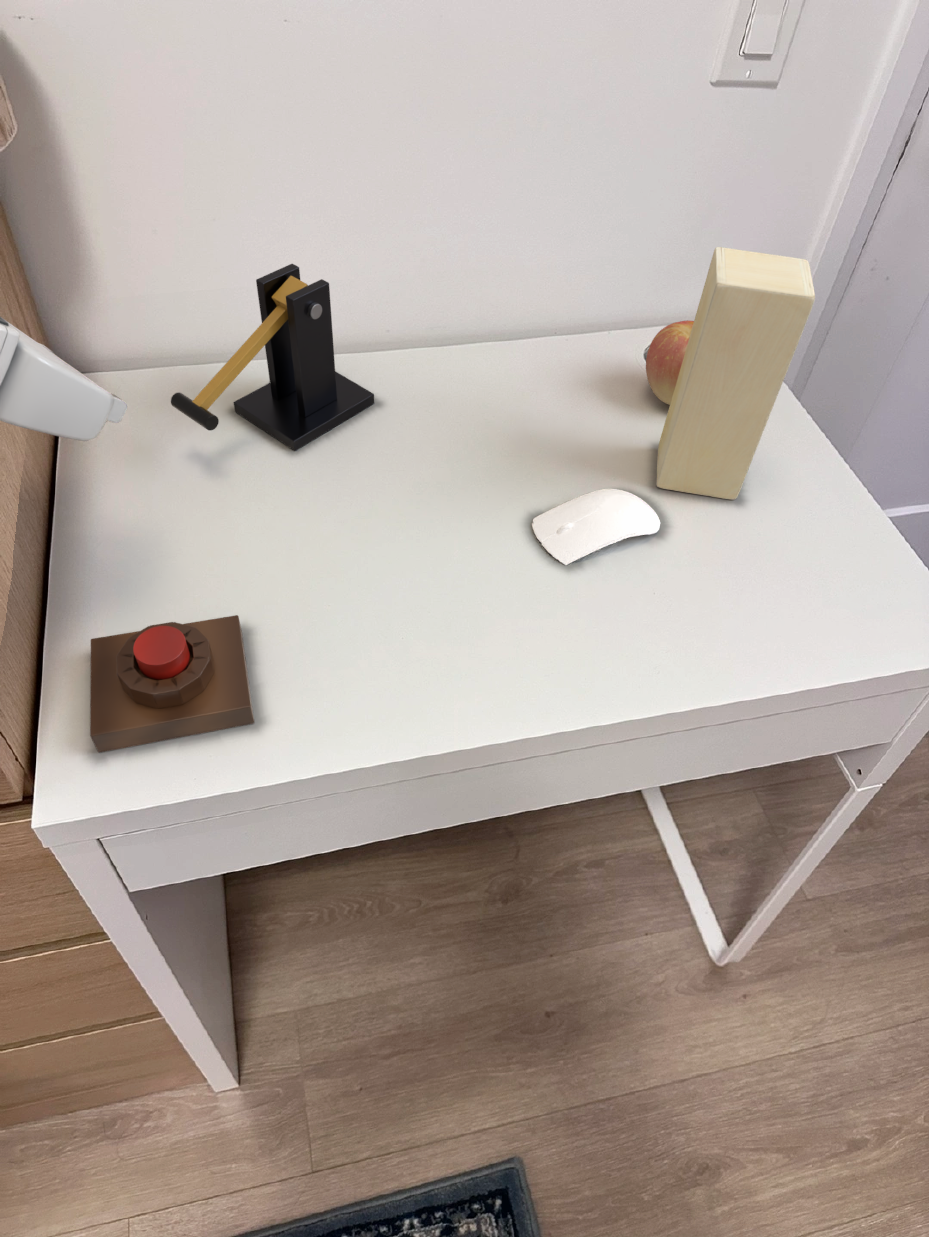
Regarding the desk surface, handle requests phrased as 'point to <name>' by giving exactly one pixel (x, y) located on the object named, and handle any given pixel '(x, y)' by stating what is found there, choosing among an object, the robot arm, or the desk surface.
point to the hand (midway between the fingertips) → (82, 384)
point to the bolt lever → (237, 361)
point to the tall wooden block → (733, 369)
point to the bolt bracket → (301, 368)
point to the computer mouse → (593, 523)
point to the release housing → (169, 687)
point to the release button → (161, 652)
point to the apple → (667, 358)
